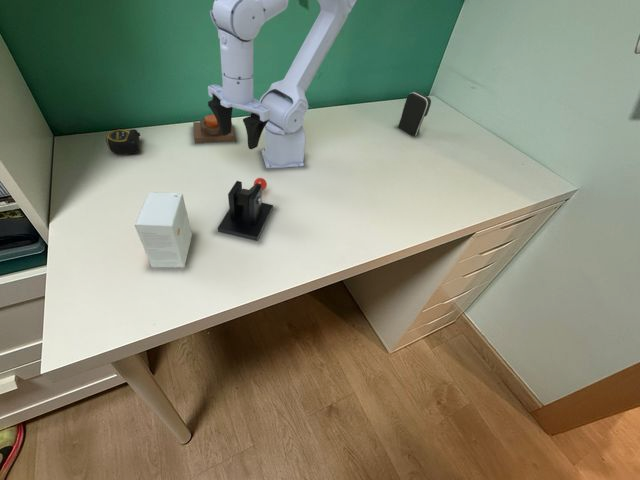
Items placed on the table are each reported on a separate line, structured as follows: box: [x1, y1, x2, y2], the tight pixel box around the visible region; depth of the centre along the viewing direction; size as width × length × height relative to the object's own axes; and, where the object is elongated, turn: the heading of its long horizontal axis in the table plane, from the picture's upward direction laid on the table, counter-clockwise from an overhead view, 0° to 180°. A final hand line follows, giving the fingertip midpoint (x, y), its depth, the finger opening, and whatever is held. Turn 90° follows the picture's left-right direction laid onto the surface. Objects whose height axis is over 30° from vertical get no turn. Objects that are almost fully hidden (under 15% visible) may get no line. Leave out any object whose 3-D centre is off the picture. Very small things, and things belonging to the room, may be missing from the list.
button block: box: [192, 117, 236, 145], centre depth 86 cm, size 10×8×4 cm
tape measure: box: [105, 129, 141, 155], centre depth 77 cm, size 7×7×4 cm
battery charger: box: [397, 91, 432, 137], centre depth 98 cm, size 7×4×11 cm, turn 41°
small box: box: [134, 191, 193, 268], centre depth 55 cm, size 8×6×10 cm
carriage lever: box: [237, 177, 268, 207], centre depth 67 cm, size 12×3×3 cm, turn 168°
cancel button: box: [204, 114, 219, 127], centre depth 84 cm, size 4×4×2 cm
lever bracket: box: [217, 180, 274, 242], centre depth 64 cm, size 10×8×8 cm
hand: (239, 140), depth 70 cm, fingers open, 7 cm apart
